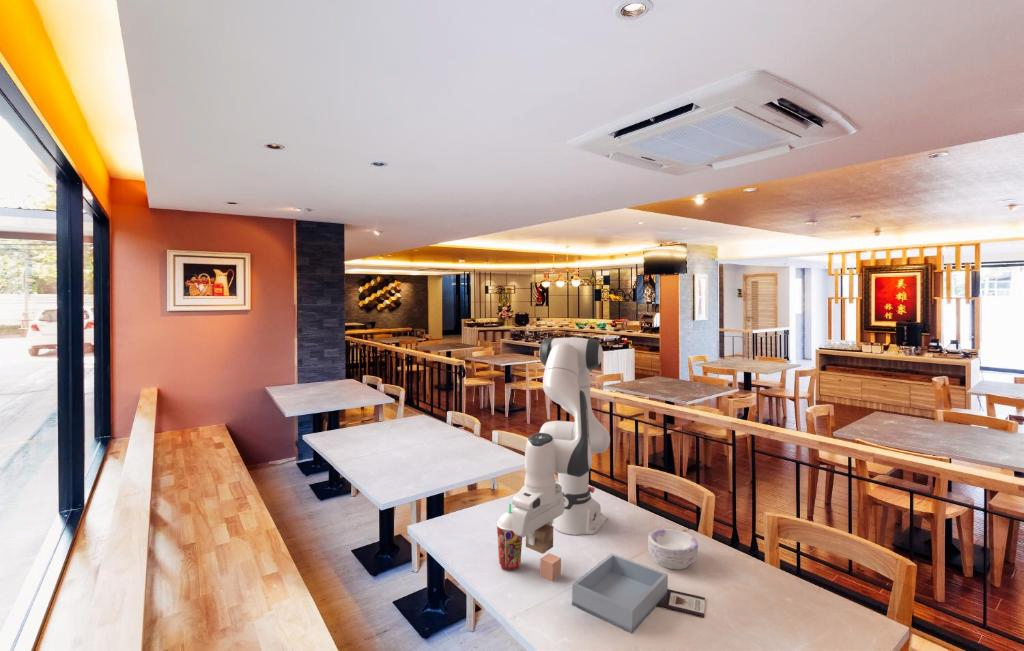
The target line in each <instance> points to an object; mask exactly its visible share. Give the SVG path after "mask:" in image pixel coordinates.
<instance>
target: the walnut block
mask: <svg viewBox="0 0 1024 651" xmlns="http://www.w3.org/2000/svg"><path fill="white" fill-rule="evenodd" d="M533 535H534V537H536V538H537V543H536V544H534V545H530V544H529V538H528V536H525V548H528V549H530V550H533V551H535V552H537V553H539V554H542V555H543V554H544V553H547V552H548V551H549V550H550V549H552V548H554V526H553V525H552V526H551V525H548V524H545V525H543V526H542V527H540V528H538V529H537V530H535V533H534V534H533Z"/></svg>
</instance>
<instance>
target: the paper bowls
mask: <svg viewBox="0 0 1024 651" xmlns="http://www.w3.org/2000/svg"><path fill="white" fill-rule="evenodd" d="M647 540H648V541H647V542H648V543H647V549H648V550H647V551H648V553H649V555H650V556H651V557H653V558H654V559H655V561H656V562H657V563H658V564H659V565H660V566H662V567H664V568H667V569H669V570H676V571H677V570H678V571H679V570H684V569H686V568H688V567H689V566H690V564H692V563H695V562H696V561H697V560H698V554H699V542H698V540H697V539H696V538H695V536H694V535H692V534H690V533H689V532H686V531H682V530H679V529H674V528H658V529H656V530H653V531H651V532H650V533H649V534H648V539H647Z"/></svg>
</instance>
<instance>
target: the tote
mask: <svg viewBox="0 0 1024 651" xmlns="http://www.w3.org/2000/svg"><path fill="white" fill-rule="evenodd" d="M668 576H669V574H668V573H665V572H663V571H661V570H658V569H655V568H652V567H649V566H647V565H645V564H642V563H639V562H636V561H633V560H632V559H628V558H626V557H624V556H620V555H618V554H615V553H612V552H611V553H610V554H609V555H608V556H606V557H605V558H603V559H602V560H601V561H600V562H598V563H597V564H596V565H595V566H593V567H592V568H591V569H590V570H588V571H587V572H586V573H584V574H583V575H582V576H580V577H579V578H578V579H577V580H575V582H573V583H572V584H571V586H572V587H571V605H572V606H573V607H575V608H577V609H579V610H581V611H583V612H585V613H588V614H590V615H592V616H594V617H596V618H598V619H600V620H603V621H604V622H607V623H609V624H610V625H613V626H615V627H617V628H619V629H622V630H623V631H625V632H627V633H629V634H633V633H634V632H635V631H636V630H637V628H639V626H641V624H642V623H643V622H644V621H645V620H646V619H647V618H648V617H649V615H650V614H651V613H653V611H654V610H655V609H656V608H658V607H657V604H658V603H659V602H660V600H661V599H662V598H663V597H664V596H665V595H666V594H667V589H668V583H669V582H668V580H669V579H668V578H669V577H668Z"/></svg>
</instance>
